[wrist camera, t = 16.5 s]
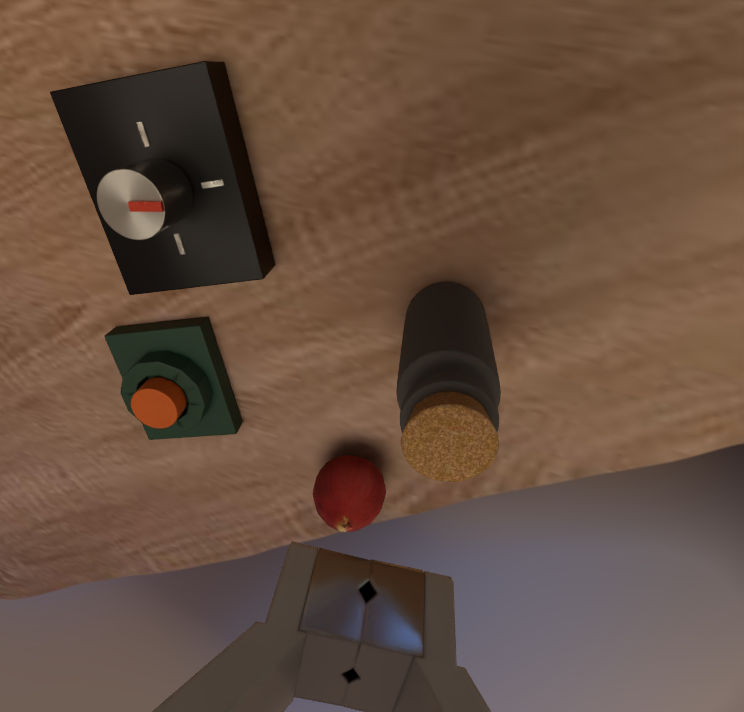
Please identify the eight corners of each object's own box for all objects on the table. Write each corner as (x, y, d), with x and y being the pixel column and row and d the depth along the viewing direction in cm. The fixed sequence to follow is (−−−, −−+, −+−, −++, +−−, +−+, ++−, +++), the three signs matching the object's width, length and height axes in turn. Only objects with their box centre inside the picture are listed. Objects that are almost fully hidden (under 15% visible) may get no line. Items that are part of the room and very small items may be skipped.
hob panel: (79, 90, 34) (47, 92, 31) (224, 61, 32) (204, 60, 29) (149, 280, 40) (128, 296, 37) (275, 265, 38) (262, 280, 35)
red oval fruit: (365, 497, 48) (353, 570, 41) (311, 466, 47) (288, 536, 40) (401, 457, 45) (394, 527, 38) (344, 423, 44) (327, 490, 37)
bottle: (394, 338, 40) (373, 469, 27) (423, 269, 37) (415, 378, 24) (465, 364, 40) (480, 506, 27) (499, 298, 37) (533, 420, 24)
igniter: (115, 326, 42) (90, 346, 39) (208, 316, 41) (189, 336, 38) (158, 428, 47) (138, 453, 43) (243, 422, 45) (229, 447, 42)
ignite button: (135, 378, 40) (123, 390, 39) (178, 374, 40) (167, 387, 38) (151, 417, 42) (140, 430, 40) (192, 414, 41) (183, 427, 40)
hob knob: (140, 222, 34) (103, 241, 31) (125, 158, 33) (84, 169, 29) (198, 223, 34) (169, 242, 30) (187, 158, 32) (154, 169, 28)
